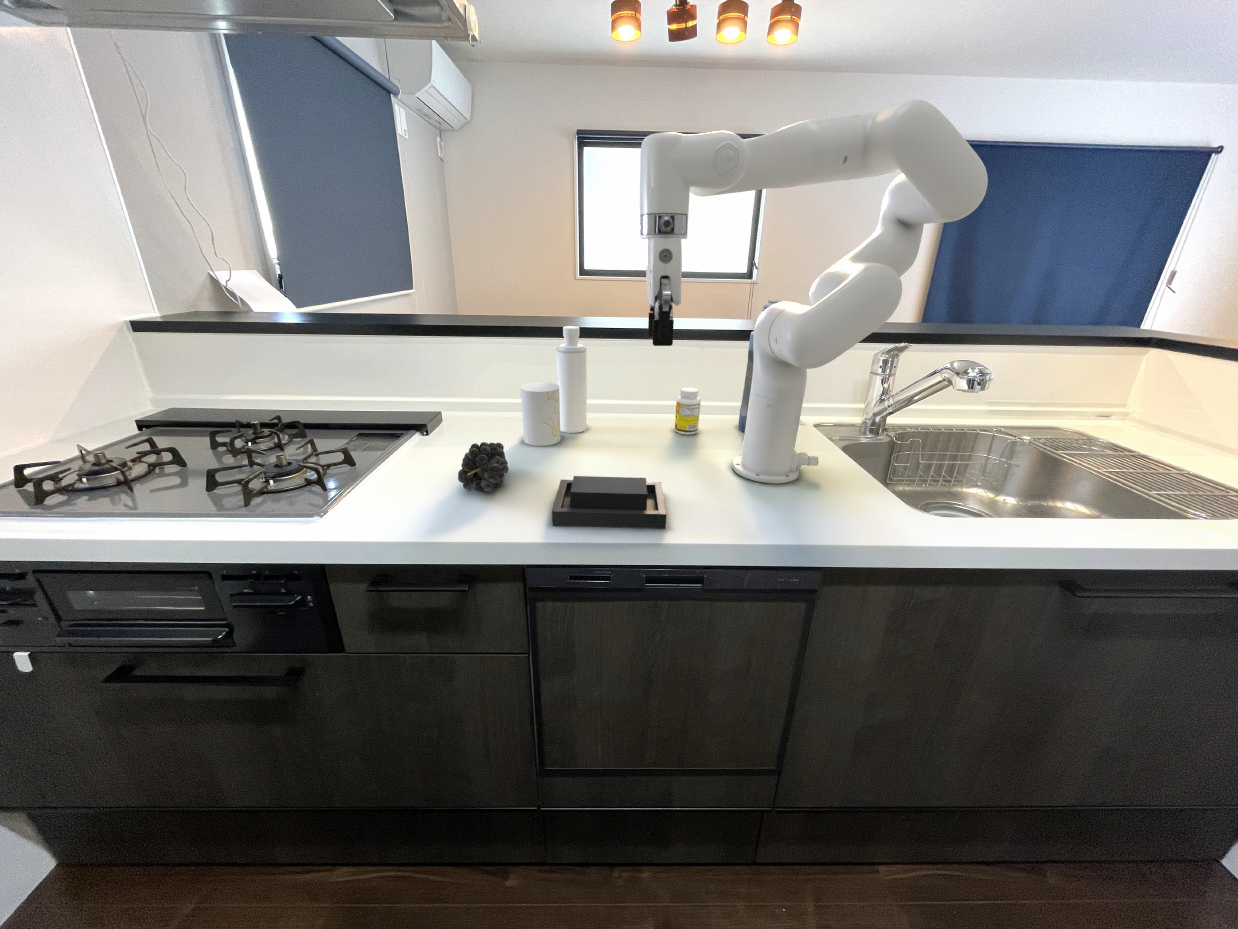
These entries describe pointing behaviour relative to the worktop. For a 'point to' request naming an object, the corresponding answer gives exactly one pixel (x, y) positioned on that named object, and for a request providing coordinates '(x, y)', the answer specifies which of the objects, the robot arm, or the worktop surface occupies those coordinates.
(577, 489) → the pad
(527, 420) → the cup
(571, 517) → the shallow rectangular tray
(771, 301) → the bottle
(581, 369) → the tall white capped bottle
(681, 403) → the supplement bottle
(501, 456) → the fruit
